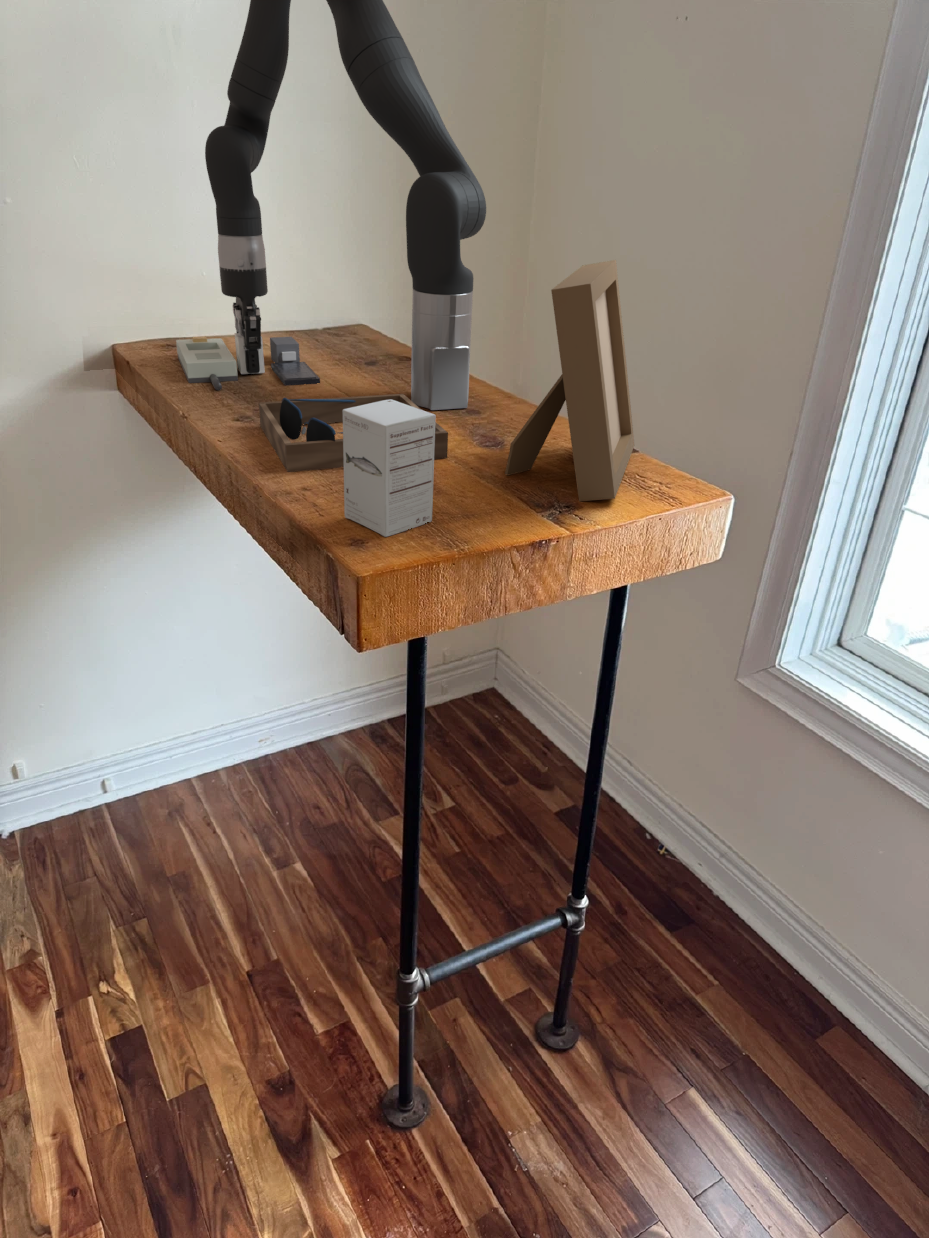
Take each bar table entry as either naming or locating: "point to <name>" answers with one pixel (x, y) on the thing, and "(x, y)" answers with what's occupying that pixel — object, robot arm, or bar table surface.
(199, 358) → the strip
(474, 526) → the bar table surface
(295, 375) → the phone
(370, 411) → the supplement box
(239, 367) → the charger
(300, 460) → the valet tray
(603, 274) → the photo frame
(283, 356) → the plug
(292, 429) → the sunglasses
